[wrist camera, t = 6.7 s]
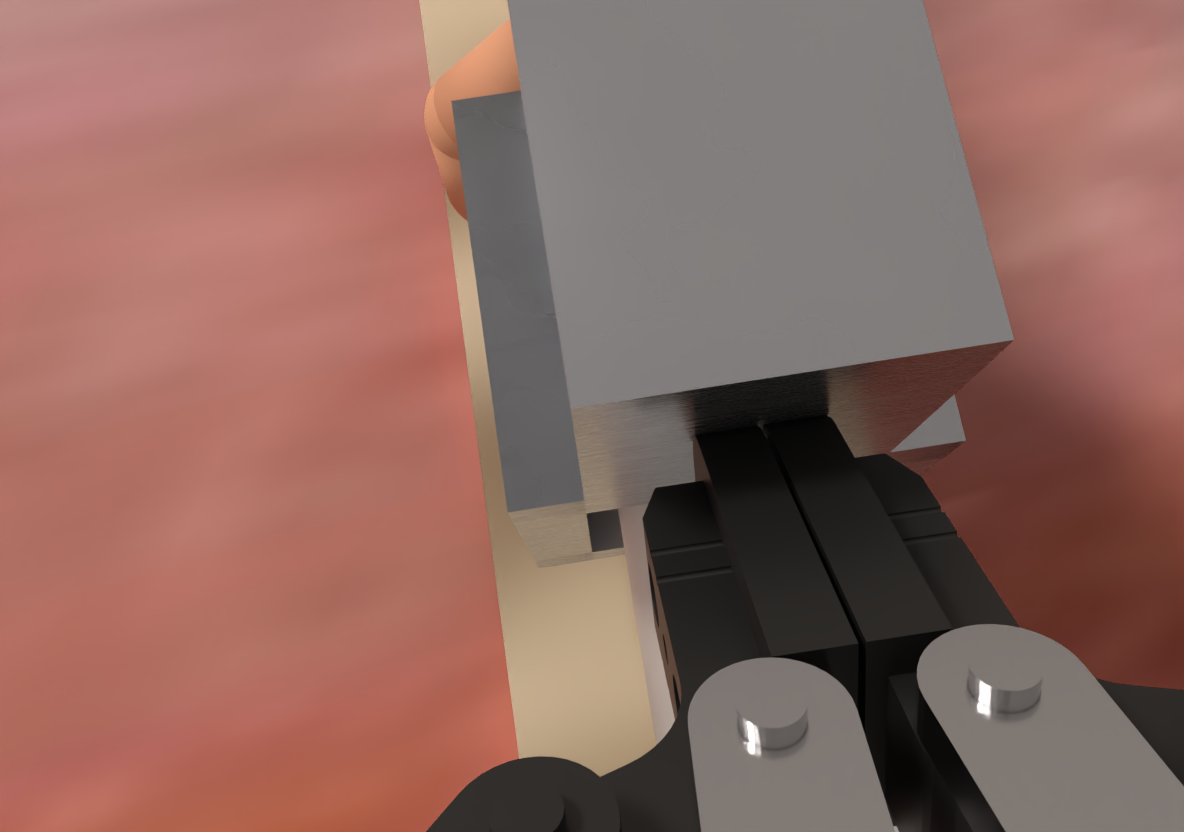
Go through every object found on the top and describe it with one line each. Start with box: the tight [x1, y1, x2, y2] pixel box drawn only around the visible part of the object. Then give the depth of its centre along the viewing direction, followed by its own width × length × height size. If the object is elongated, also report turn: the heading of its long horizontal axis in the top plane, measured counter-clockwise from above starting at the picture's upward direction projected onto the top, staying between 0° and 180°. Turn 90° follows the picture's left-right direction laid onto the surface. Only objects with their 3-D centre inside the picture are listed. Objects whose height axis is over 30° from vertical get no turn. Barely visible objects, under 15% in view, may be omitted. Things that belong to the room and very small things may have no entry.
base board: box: [419, 0, 656, 777], centre depth 24 cm, size 31×8×1 cm, turn 9°
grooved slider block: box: [451, 0, 1014, 568], centre depth 15 cm, size 6×6×10 cm
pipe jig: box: [618, 504, 899, 832], centre depth 21 cm, size 30×5×8 cm, turn 9°
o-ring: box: [424, 18, 521, 221], centre depth 19 cm, size 2×7×7 cm, turn 99°
